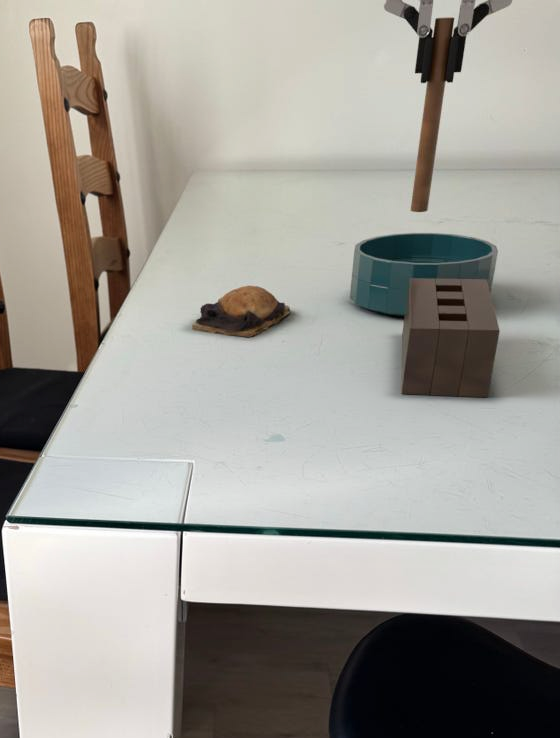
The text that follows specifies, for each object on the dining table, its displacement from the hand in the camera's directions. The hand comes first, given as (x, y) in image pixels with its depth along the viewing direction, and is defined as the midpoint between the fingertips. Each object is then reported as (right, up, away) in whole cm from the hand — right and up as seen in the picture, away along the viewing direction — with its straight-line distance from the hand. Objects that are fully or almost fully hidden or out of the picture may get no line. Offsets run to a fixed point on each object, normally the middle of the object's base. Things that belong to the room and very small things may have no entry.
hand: (436, 80), depth 103 cm
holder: (-2, -31, -6) cm, 32 cm away
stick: (+1, -10, +7) cm, 13 cm away
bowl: (+2, -19, +12) cm, 22 cm away
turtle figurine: (-18, -22, +10) cm, 30 cm away
